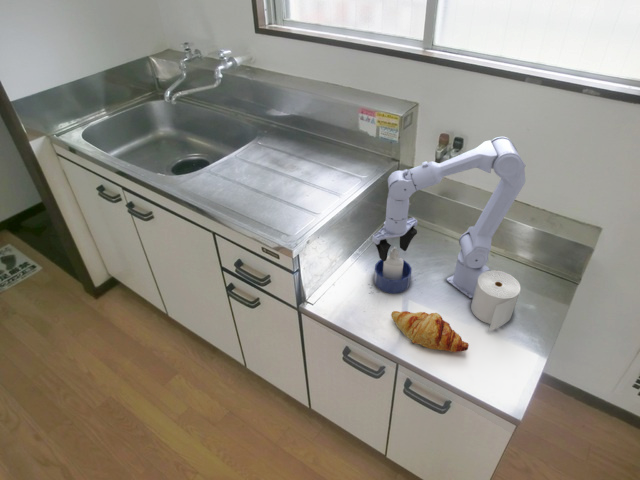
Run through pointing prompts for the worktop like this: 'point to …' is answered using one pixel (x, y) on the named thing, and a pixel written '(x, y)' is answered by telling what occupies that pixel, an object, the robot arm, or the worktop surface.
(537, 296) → the worktop surface
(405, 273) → the blue bowl
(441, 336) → the croissant
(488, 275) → the toilet tissue
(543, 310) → the worktop surface
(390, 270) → the eye dropper bottle
